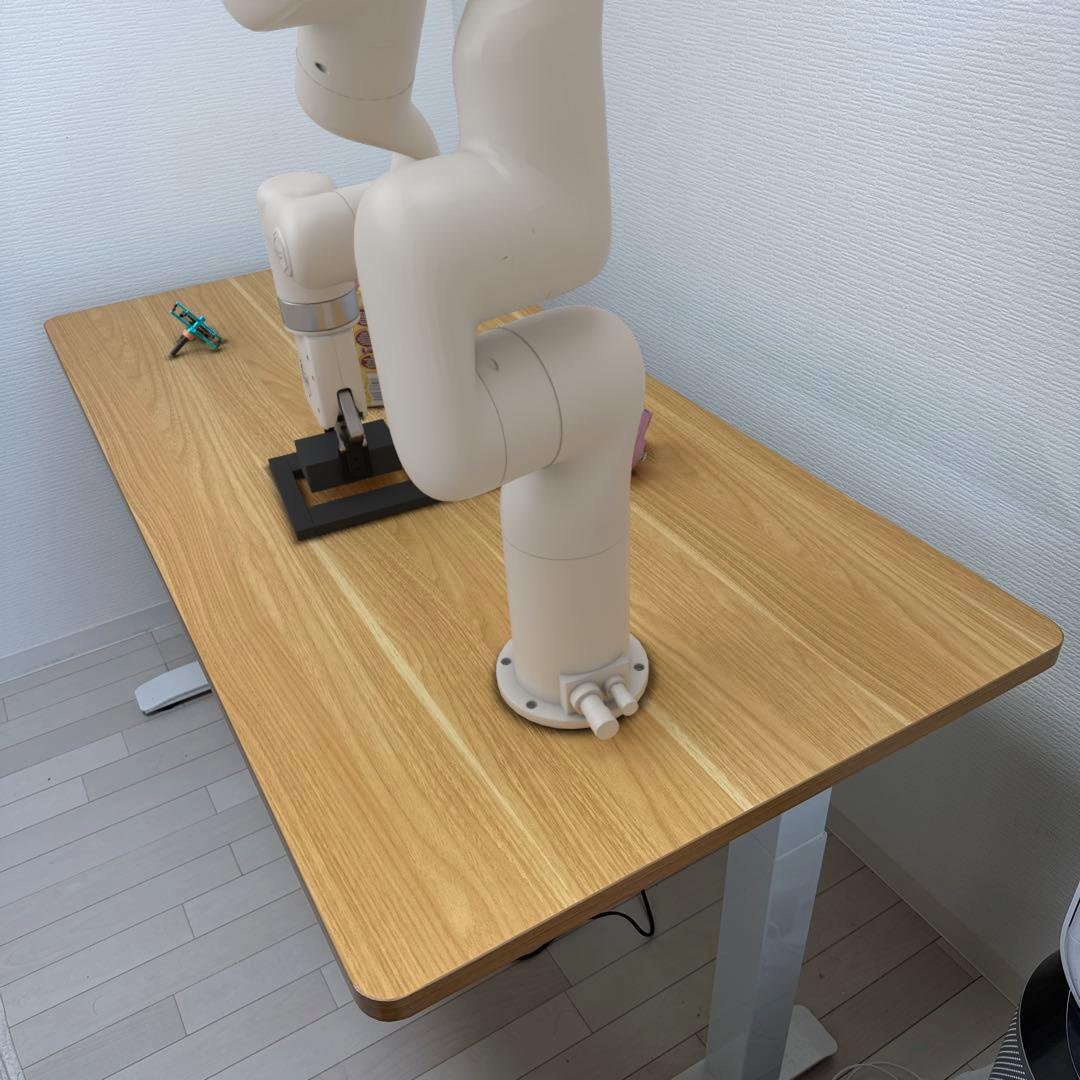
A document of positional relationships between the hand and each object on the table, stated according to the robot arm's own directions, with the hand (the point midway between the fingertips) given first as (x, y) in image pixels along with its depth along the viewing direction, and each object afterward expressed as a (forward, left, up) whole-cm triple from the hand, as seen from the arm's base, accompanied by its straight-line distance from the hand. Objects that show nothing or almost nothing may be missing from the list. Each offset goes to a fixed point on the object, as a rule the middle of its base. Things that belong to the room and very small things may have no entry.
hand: (350, 462), depth 105 cm
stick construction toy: (+48, +12, -3) cm, 49 cm away
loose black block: (0, 0, -1) cm, 1 cm away
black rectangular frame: (0, -3, -3) cm, 4 cm away
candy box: (+20, -9, -3) cm, 22 cm away
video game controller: (-10, -28, -3) cm, 30 cm away
